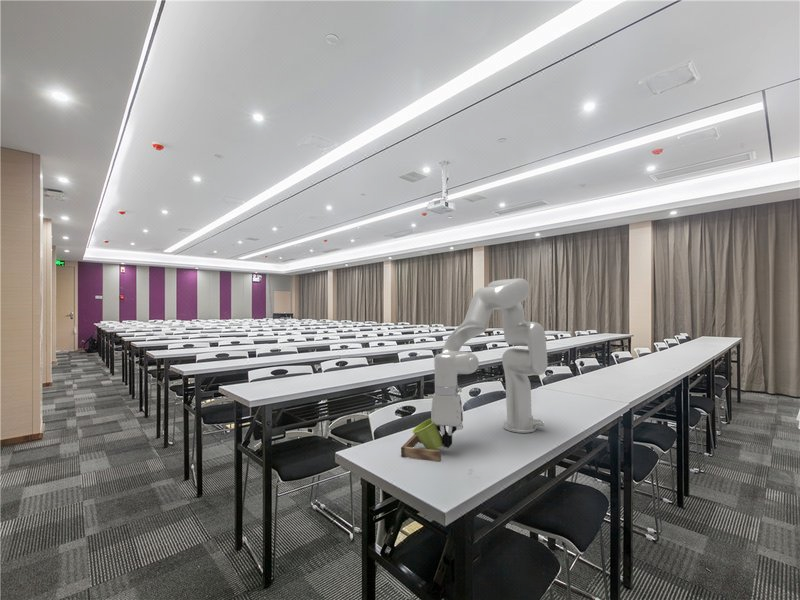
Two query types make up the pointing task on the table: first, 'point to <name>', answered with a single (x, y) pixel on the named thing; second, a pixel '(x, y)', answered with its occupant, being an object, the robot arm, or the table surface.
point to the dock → (419, 451)
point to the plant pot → (429, 435)
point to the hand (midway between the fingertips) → (447, 445)
